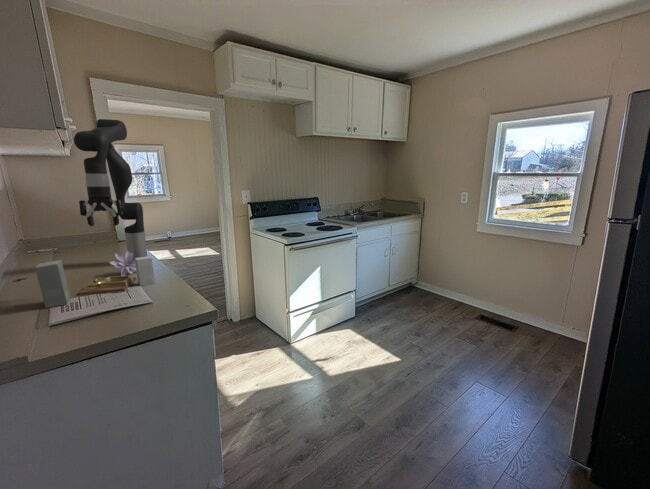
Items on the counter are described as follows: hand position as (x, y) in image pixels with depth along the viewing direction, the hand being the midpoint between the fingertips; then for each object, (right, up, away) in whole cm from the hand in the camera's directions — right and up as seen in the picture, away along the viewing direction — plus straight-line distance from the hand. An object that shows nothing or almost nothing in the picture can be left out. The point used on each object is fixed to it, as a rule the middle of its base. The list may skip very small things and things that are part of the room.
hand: (104, 225), depth 124 cm
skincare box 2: (+10, -25, +13) cm, 30 cm away
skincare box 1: (-11, -30, -9) cm, 33 cm away
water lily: (-7, -22, +26) cm, 35 cm away
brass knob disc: (-8, -25, +6) cm, 27 cm away
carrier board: (-3, -26, +8) cm, 28 cm away
